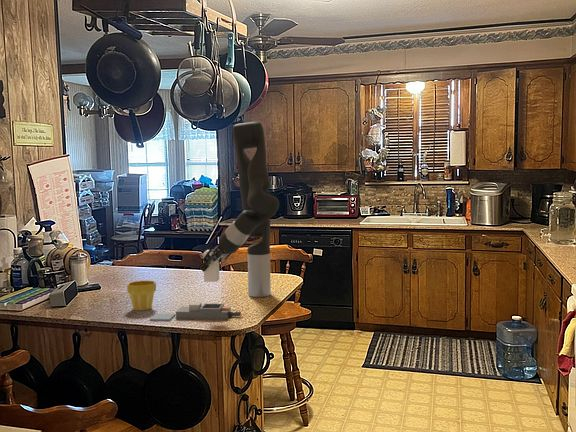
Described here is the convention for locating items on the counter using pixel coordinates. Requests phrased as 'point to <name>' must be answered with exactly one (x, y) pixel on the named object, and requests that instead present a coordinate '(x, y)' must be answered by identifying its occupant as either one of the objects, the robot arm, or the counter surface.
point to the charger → (211, 271)
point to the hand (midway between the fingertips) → (207, 267)
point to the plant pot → (141, 294)
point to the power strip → (205, 311)
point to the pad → (162, 317)
